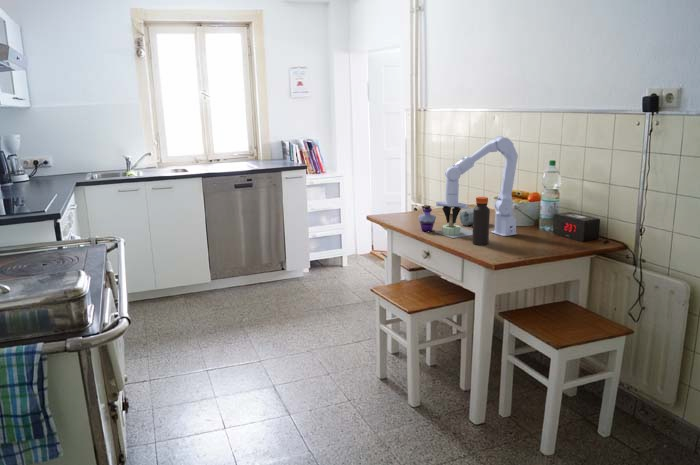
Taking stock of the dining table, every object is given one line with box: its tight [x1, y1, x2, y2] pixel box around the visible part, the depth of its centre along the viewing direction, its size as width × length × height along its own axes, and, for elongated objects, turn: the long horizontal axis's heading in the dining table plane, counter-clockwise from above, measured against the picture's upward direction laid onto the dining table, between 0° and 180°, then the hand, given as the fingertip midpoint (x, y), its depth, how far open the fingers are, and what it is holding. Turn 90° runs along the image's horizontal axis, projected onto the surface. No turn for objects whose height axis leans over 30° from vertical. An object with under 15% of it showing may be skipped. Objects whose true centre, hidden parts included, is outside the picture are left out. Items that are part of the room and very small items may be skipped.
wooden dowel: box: [448, 213, 455, 228], centre depth 264 cm, size 2×2×7 cm
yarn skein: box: [458, 207, 475, 226], centre depth 283 cm, size 14×10×10 cm
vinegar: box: [471, 196, 491, 246], centre depth 245 cm, size 7×7×20 cm
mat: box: [434, 227, 473, 239], centre depth 266 cm, size 14×16×1 cm
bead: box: [441, 224, 461, 235], centre depth 265 cm, size 8×8×3 cm
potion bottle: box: [418, 204, 437, 233], centre depth 271 cm, size 9×9×12 cm
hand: (451, 222), depth 264 cm, fingers closed on wooden dowel, 2 cm apart
